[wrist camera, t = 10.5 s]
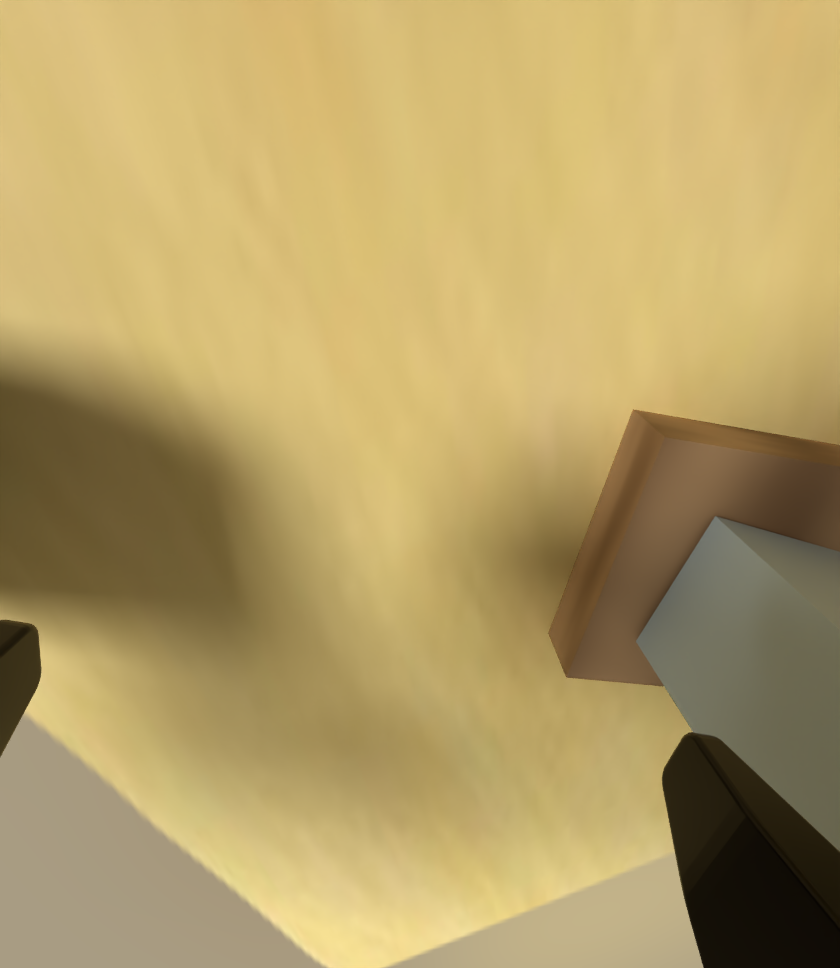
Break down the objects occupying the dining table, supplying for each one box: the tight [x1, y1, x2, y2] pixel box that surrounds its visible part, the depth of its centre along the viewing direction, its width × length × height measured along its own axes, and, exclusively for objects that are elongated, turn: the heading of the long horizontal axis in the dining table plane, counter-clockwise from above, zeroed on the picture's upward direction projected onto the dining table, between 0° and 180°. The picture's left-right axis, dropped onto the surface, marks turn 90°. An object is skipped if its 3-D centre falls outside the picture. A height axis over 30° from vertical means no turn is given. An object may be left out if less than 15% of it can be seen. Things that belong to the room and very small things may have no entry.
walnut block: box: [549, 410, 840, 686], centre depth 23 cm, size 10×10×3 cm
